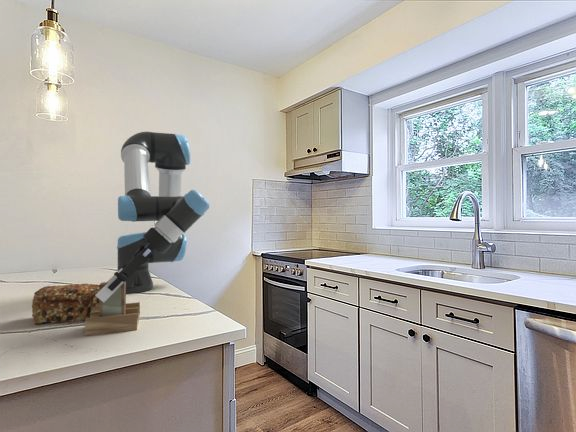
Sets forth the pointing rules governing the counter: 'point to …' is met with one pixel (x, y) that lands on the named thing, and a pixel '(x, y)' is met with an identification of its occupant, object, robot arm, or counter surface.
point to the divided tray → (113, 321)
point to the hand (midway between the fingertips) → (103, 293)
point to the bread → (64, 303)
